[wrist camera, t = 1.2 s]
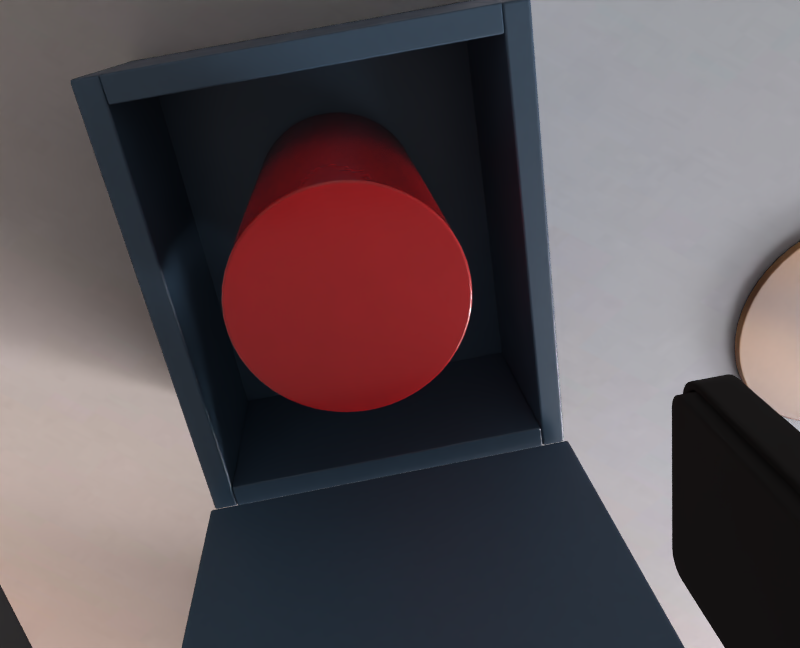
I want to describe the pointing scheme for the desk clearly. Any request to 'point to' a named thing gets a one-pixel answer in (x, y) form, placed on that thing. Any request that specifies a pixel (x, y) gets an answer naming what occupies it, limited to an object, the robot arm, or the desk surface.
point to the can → (344, 270)
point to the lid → (428, 564)
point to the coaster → (773, 336)
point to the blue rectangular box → (231, 191)
